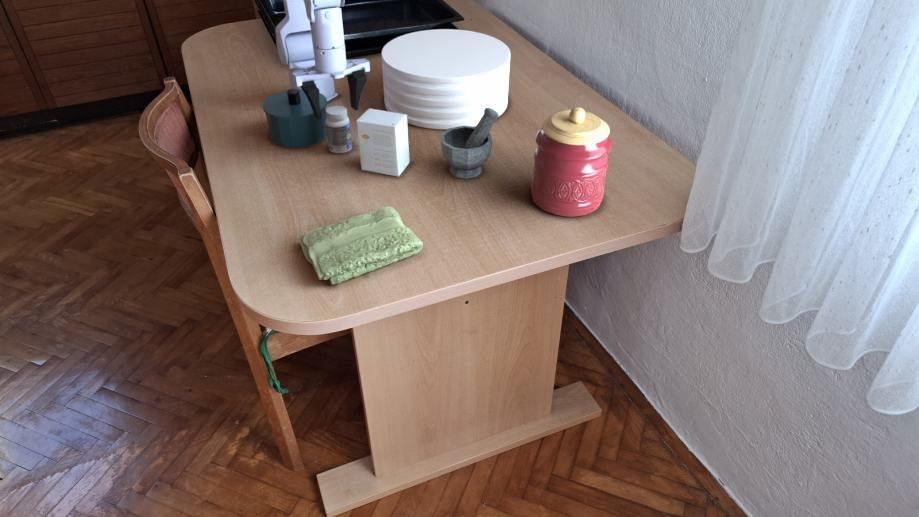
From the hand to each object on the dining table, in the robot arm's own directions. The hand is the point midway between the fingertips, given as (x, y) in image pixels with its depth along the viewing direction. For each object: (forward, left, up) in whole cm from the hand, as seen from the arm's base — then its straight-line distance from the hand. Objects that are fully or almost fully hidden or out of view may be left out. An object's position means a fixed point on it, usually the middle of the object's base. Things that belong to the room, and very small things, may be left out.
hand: (336, 112), depth 127 cm
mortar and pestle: (-7, +26, -8) cm, 28 cm away
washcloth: (+24, +25, -8) cm, 35 cm away
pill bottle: (0, 0, -8) cm, 8 cm away
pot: (0, -11, -8) cm, 13 cm away
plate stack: (-30, +6, -8) cm, 32 cm away
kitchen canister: (-8, +46, -8) cm, 47 cm away
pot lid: (0, -11, -1) cm, 11 cm away
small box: (+1, +12, -8) cm, 14 cm away
